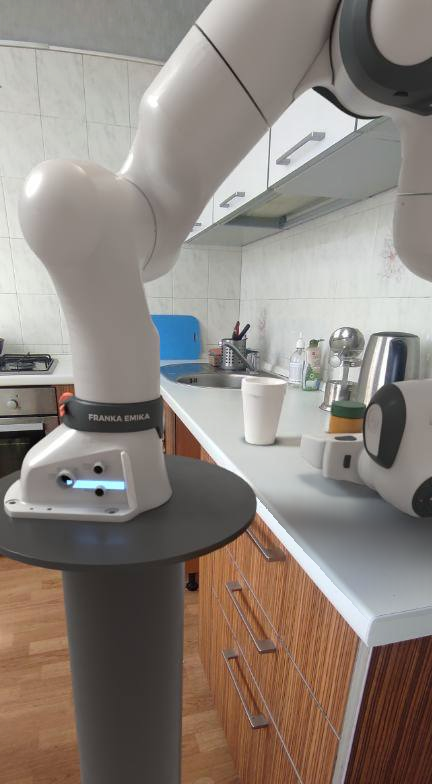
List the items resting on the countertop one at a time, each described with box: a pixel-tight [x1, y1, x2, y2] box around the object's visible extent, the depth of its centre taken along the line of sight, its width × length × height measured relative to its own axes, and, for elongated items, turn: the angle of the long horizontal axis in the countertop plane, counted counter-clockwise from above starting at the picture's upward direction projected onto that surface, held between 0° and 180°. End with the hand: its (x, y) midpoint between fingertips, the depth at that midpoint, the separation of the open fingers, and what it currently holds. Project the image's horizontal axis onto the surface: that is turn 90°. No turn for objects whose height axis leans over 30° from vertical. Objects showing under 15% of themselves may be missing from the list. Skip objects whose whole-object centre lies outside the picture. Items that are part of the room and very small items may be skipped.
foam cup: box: [240, 376, 288, 446], centre depth 99 cm, size 10×9×13 cm
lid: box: [330, 400, 367, 418], centre depth 84 cm, size 6×6×2 cm
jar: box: [327, 413, 363, 434], centre depth 86 cm, size 6×6×11 cm
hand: (342, 435), depth 87 cm, fingers closed on jar, 6 cm apart
